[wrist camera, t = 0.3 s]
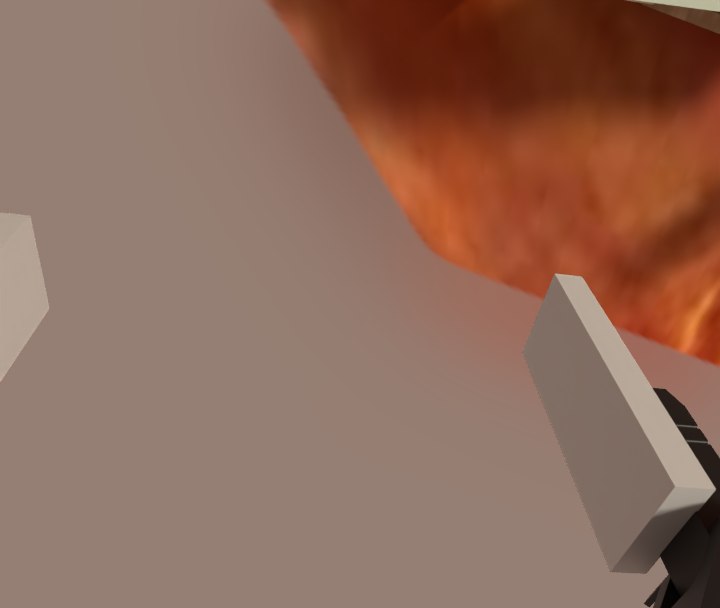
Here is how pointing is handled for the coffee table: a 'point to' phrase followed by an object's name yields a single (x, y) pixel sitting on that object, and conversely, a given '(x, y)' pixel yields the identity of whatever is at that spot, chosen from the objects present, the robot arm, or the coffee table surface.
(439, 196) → the coffee table surface
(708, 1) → the lever
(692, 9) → the stand
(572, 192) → the coffee table surface
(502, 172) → the coffee table surface
